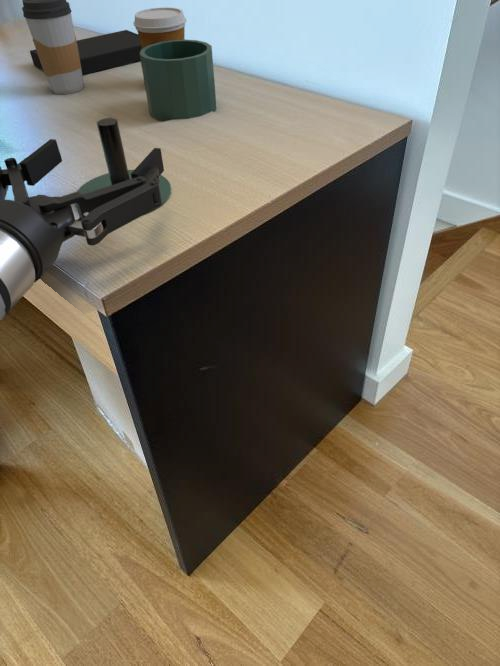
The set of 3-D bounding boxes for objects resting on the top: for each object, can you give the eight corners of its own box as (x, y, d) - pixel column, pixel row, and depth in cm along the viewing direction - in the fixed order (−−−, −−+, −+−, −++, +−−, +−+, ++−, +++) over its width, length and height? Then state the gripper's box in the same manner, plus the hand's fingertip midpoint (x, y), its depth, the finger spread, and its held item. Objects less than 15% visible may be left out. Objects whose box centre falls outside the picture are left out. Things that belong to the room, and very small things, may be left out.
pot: (142, 105, 91) (131, 46, 85) (202, 93, 95) (196, 36, 88) (162, 127, 84) (152, 65, 77) (226, 113, 87) (222, 52, 80)
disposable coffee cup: (134, 85, 99) (121, 14, 91) (173, 73, 104) (164, 4, 96) (163, 96, 94) (152, 22, 86) (203, 83, 99) (196, 11, 91)
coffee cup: (97, 88, 99) (76, -3, 89) (58, 99, 95) (32, 6, 85) (76, 78, 104) (54, -9, 93) (38, 89, 100) (10, -1, 89)
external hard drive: (158, 56, 112) (156, 41, 110) (58, 81, 103) (54, 65, 101) (128, 43, 121) (125, 29, 119) (33, 65, 111) (29, 50, 109)
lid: (68, 190, 69) (45, 114, 62) (155, 169, 73) (142, 95, 66) (87, 234, 61) (63, 153, 54) (185, 208, 65) (173, 129, 58)
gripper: (-92, 271, 52) (26, 174, 66) (134, 306, 46) (208, 193, 61) (-133, 204, 46) (5, 116, 61) (116, 236, 41) (202, 130, 56)
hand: (106, 154), depth 61 cm, fingers open, 13 cm apart
